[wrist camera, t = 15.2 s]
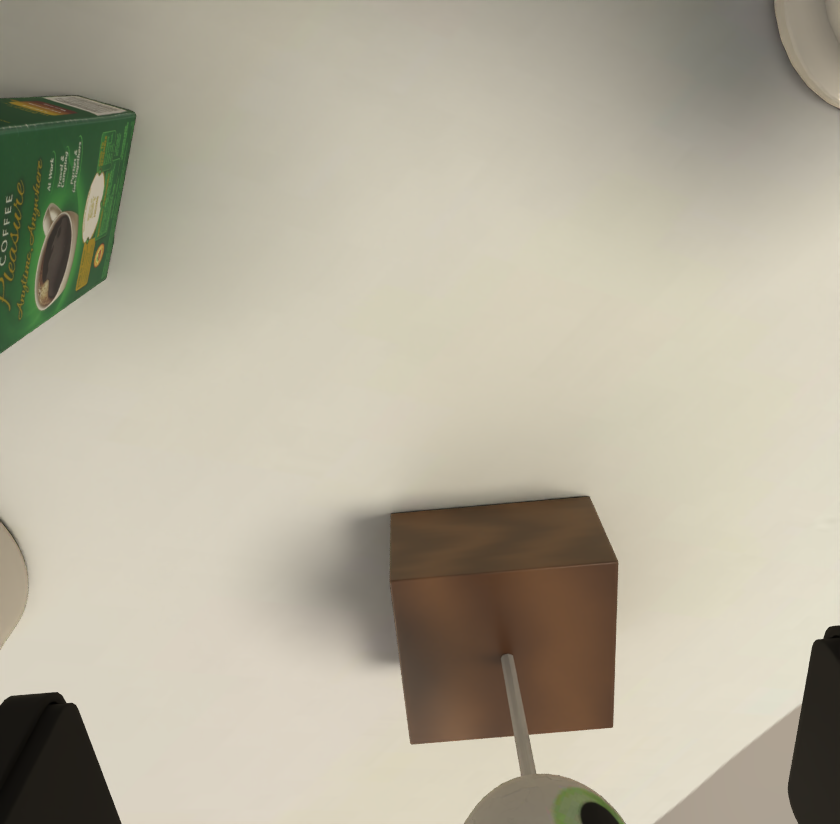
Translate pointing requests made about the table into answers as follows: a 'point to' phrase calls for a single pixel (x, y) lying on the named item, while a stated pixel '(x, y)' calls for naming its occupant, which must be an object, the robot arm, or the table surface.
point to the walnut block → (504, 617)
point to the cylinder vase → (11, 584)
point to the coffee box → (56, 203)
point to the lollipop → (537, 783)
